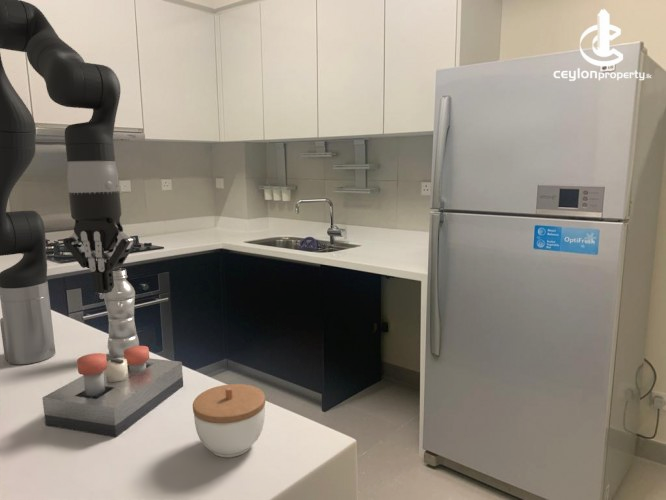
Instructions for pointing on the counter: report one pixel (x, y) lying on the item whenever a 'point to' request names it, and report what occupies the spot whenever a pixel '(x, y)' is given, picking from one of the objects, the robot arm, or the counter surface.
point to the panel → (113, 399)
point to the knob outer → (93, 372)
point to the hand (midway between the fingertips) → (104, 292)
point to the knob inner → (137, 357)
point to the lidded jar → (229, 418)
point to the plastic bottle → (121, 314)
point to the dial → (116, 370)
